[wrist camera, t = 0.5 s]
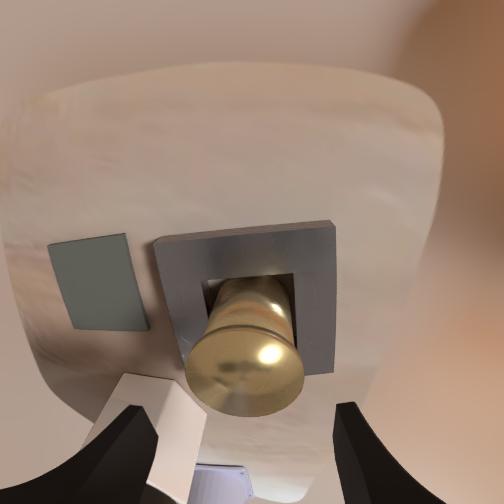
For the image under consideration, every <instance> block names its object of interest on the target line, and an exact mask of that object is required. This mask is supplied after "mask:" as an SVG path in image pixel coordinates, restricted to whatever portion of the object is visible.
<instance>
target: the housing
mask: <svg viewBox="0 0 504 504" xmlns="http://www.w3.org/2000/svg"><path fill="white" fill-rule="evenodd" d="M153 247H154V252H155V256H156V261H157V265H158V270H159V274H160V278H161V283H162V287H163V291H164V295H165V299H166V303H167V307H168V311H169V314H170V318H171V322H172V325H173V329H174V333H175V336H176V340H177V343H178V346H179V350H180V353H181V356H182V360H183V363H184V366H185V367H186V362H187V359H188V356H189V354H190V351H191V349H192V347H193V346H194V344H195V343H196V342H197V341H198V340H199V339H200V338H201V337H202V336H203V335H204V332H205V329H206V326H207V323H208V321H209V318H210V315H211V312H212V309H213V307H212V302H211V297H210V291H209V286H208V280H212V279H225V278H238V277H251V276H263V275H275V274H286V273H292V276H293V291H294V308H295V327H296V336H293V339H294V346H295V348H296V349H297V351H298V352H299V354H300V356H301V359H302V362H303V369H304V376H306V375H316V374H325V373H333V372H334V357H335V336H336V294H337V269H336V227H335V225H334V224H333V223H332V222H331V221H330V220H325V221H313V222H301V223H290V224H278V225H267V226H257V227H246V228H236V229H226V230H216V231H207V232H197V233H188V234H179V235H170V236H162V237H160V238H159V239H158V240H157V241H156V242H154V243H153Z"/></svg>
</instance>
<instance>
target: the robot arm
mask: <svg viewBox="0 0 504 504" xmlns="http://www.w3.org/2000/svg"><path fill="white" fill-rule="evenodd" d="M158 439H159V436H158V434H157V432H156V430H155V428H154V427H153V425H152V423H151V421H150V419H149V417H148V415H147V413H146V412H145V410H144V408H143V406H137V405H129V406H127V407H126V408H125V409H124V410H123V411H122V412H121V413H120V414H119V415H118V416H117V417H116V418H115V419H114V420H113V421H112V422H111V423H110V424H109V425H108V426H107V427H106V428H105V429H104V430H103V431H102V432H101V433H100V434H99V435H98V436H97V437H95V438H94V439H93V440H92V441H91V442H90V443H89V444H87V445H86V446H85V447H84V448H83V449H81V450H80V451H79V452H78V453H77V454H75V455H74V456H73V457H71V458H70V459H69V460H67V461H66V462H64V463H63V464H61V465H60V466H58V467H56V468H55V469H53V470H51V471H49V472H47V473H45V474H43V475H42V476H40V477H38V478H35V479H33V480H30V481H28V482H25V483H22V484H19V485H16V486H13V487H9V488H5V489H0V504H139V503H140V499H141V496H142V493H143V491H144V488H145V485H146V482H147V479H148V476H149V473H150V471H151V468H152V465H153V462H154V459H155V455H156V450H157V444H158ZM333 444H334V453H335V460H336V465H337V469H338V474H339V478H340V482H341V487H342V491H343V496H344V500H345V504H446V503H445V502H443V501H442V500H441V499H439V498H438V497H436V496H435V495H434V494H432V493H431V492H430V491H428V490H427V489H426V488H425V487H423V486H422V485H421V484H420V483H419V482H418V481H416V480H415V479H414V478H413V477H412V476H411V475H410V474H409V473H408V472H407V471H406V470H405V469H404V468H403V467H402V466H401V465H400V464H399V463H398V462H397V460H396V459H395V458H394V457H393V456H392V455H391V454H390V453H389V451H388V450H387V449H386V447H385V446H384V445H383V443H382V442H381V441H380V440H379V438H378V437H377V436H376V434H375V433H374V431H373V430H372V429H371V427H370V426H369V424H368V423H367V421H366V420H365V418H364V416H363V415H362V413H361V412H360V410H359V408H358V406H357V404H356V403H355V402H346V403H340V404H336V413H335V421H334V429H333ZM246 499H249V500H251V499H254V494H253V490H252V487H251V484H250V481H249V478H248V474H247V471H246V469H245V468H244V467H225V466H207V465H196V466H195V470H194V474H193V479H192V483H191V488H190V492H189V496H188V501H187V504H246Z"/></svg>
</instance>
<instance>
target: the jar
mask: <svg viewBox="0 0 504 504" xmlns="http://www.w3.org/2000/svg"><path fill="white" fill-rule="evenodd" d="M129 405H137V406H143V408H144V410H145V412H146V413H147V415H148V417H149V419H150V421H151V423H152V425H153V427H154V428H155V430H156V432H157V434H158V436H159V439H158V444H157V450H156V455H155V459H154V462H153V465H152V468H151V471H150V473H149V476H148V479H147V482H146V485H145V488H144V491H143V493H142V496H141V499H140V503H139V504H187V501H188V496H189V492H190V488H191V483H192V479H193V474H194V470H195V466H196V461H197V457H198V452H199V448H200V444H201V439H202V435H203V431H204V426H205V422H206V418H207V414H206V412H205V411H204V410H203V409H202V408H201V407H200V406H199V405H198V404H197V403H196V402H195V401H194V400H193V399H192V398H191V397H190V396H189V395H188V394H187V393H186V392H185V391H184V390H183V389H182V388H181V387H180V385H179V384H178V383H177V382H176V381H175V380H169V379H162V378H155V377H148V376H142V375H136V374H130V373H124V374H123V375H122V377H121V379H120V380H119V382H118V384H117V385H116V387H115V389H114V391H113V392H112V394H111V396H110V397H109V399H108V401H107V403H106V404H105V406H104V408H103V410H102V411H101V413H100V415H99V417H98V418H97V420H96V422H95V424H94V426H93V427H92V429H91V431H90V433H89V435H88V437H87V438H86V440H85V442H84V444H83V445H82V447H81V449H83V448H84V447H85V446H86V445H87V444H89V443H90V442H91V441H92V440H93V439H94V438H95V437H97V436H98V435H99V434H100V433H101V432H102V431H103V430H104V429H105V428H106V427H107V426H108V425H109V424H110V423H111V422H112V421H113V420H114V419H115V418H116V417H117V416H118V415H119V414H120V413H121V412H122V411H123V410H124V409H125V408H126V407H127V406H129ZM81 449H80V450H81Z"/></svg>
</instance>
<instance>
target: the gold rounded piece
mask: <svg viewBox="0 0 504 504" xmlns="http://www.w3.org/2000/svg"><path fill="white" fill-rule="evenodd" d="M185 376H186V380H187V383H188V385H189V387H190V389H191V390H192V392H193V393H194V394H195V395H196V397H197V398H199V399H200V400H201V401H202V402H203V403H205V404H206V405H208V406H209V407H211V408H213V409H215V410H217V411H219V412H222V413H225V414H228V415H233V416H239V417H259V416H265V415H269V414H272V413H275V412H278V411H280V410H282V409H284V408H285V407H287V406H288V405H290V404H291V403H292V402H293V401H294V400H295V399H296V398H297V397H298V395H299V394H300V392H301V390H302V388H303V384H304V369H303V362H302V359H301V356H300V354H299V352H298V351H297V349H296V348H295V346H294V339H293V330H292V321H291V312H290V303H289V297H288V294H287V291H286V289H285V288H284V286H283V285H282V284H281V283H280V282H279V281H278V280H277V279H275V278H274V277H272V276H270V275H263V276H251V277H238V278H229V279H228V280H227V281H226V282H225V283H224V284H223V285H222V286H221V288H220V290H219V292H218V295H217V298H216V301H215V304H214V306H213V309H212V312H211V315H210V318H209V321H208V323H207V326H206V329H205V332H204V335H203V336H202V337H201V338H200V339H199V340H198V341H197V342H196V343H195V344H194V346H193V347H192V349H191V351H190V354H189V356H188V359H187V362H186V367H185Z"/></svg>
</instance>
